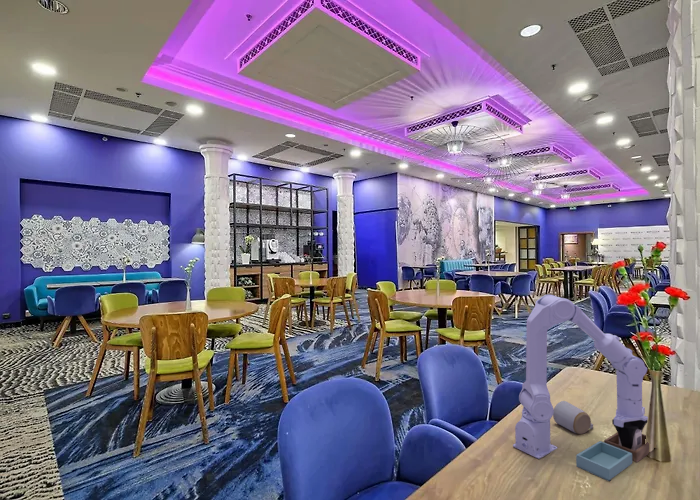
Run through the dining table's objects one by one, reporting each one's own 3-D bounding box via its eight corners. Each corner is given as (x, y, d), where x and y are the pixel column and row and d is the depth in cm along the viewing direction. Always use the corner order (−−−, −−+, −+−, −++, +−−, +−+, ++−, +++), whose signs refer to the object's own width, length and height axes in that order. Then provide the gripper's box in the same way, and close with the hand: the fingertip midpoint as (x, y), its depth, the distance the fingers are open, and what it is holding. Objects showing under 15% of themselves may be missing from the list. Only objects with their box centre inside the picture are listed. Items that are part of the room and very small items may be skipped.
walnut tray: (636, 464, 98) (636, 452, 98) (604, 450, 104) (604, 440, 104) (656, 449, 104) (656, 438, 104) (624, 437, 111) (624, 427, 111)
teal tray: (609, 481, 91) (609, 469, 91) (576, 466, 97) (576, 454, 97) (632, 464, 97) (632, 453, 97) (600, 451, 104) (599, 440, 104)
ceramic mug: (575, 438, 112) (575, 412, 112) (552, 425, 119) (552, 402, 119) (600, 432, 115) (600, 407, 115) (577, 420, 123) (577, 397, 123)
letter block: (636, 454, 101) (636, 434, 101) (618, 447, 105) (618, 428, 105) (642, 450, 103) (642, 430, 103) (625, 443, 107) (624, 424, 107)
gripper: (634, 408, 97) (635, 460, 97) (657, 395, 105) (658, 443, 105) (604, 399, 103) (605, 448, 103) (628, 388, 111) (629, 433, 111)
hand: (630, 445), depth 104 cm, fingers closed on letter block, 4 cm apart
